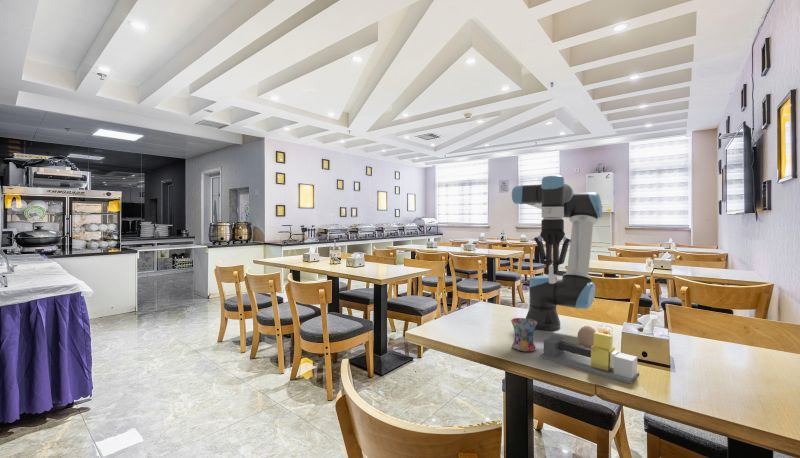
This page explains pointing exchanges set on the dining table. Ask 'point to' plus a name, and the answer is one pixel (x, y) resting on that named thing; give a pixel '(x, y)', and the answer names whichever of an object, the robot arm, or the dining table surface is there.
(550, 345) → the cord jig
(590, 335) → the egg
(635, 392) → the dining table surface
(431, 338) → the dining table surface
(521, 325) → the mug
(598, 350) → the yellow block
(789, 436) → the dining table surface
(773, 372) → the dining table surface
